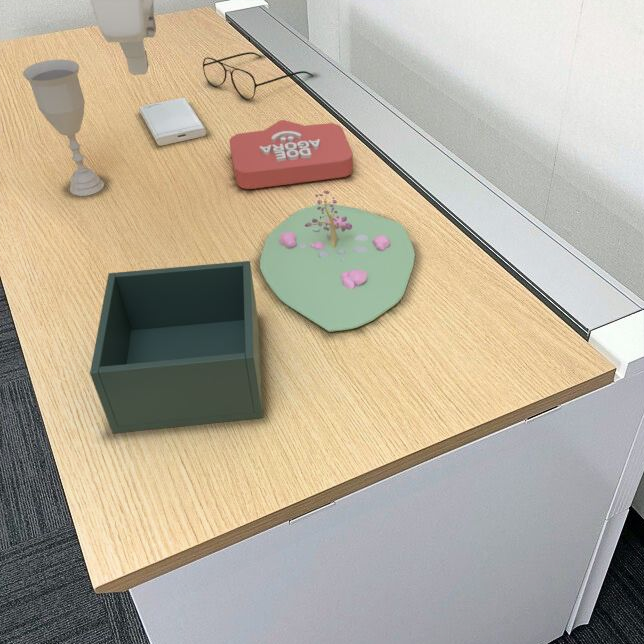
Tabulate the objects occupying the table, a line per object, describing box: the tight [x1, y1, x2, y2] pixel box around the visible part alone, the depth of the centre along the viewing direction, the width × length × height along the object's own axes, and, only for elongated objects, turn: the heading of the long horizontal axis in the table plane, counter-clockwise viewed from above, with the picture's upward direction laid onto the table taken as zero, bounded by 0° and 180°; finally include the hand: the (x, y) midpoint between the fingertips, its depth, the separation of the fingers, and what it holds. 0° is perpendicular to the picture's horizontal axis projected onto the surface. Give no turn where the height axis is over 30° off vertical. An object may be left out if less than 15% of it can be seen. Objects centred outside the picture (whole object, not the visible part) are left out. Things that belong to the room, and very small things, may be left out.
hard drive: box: [139, 97, 207, 147], centre depth 124 cm, size 2×8×12 cm
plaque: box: [228, 119, 354, 190], centre depth 114 cm, size 18×4×15 cm
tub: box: [89, 260, 264, 434], centre depth 79 cm, size 16×16×9 cm
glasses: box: [202, 51, 314, 101], centre depth 137 cm, size 14×15×5 cm
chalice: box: [22, 58, 105, 197], centre depth 105 cm, size 7×7×18 cm
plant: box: [259, 190, 416, 333], centre depth 93 cm, size 25×21×9 cm
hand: (144, 52), depth 76 cm, fingers open, 8 cm apart
